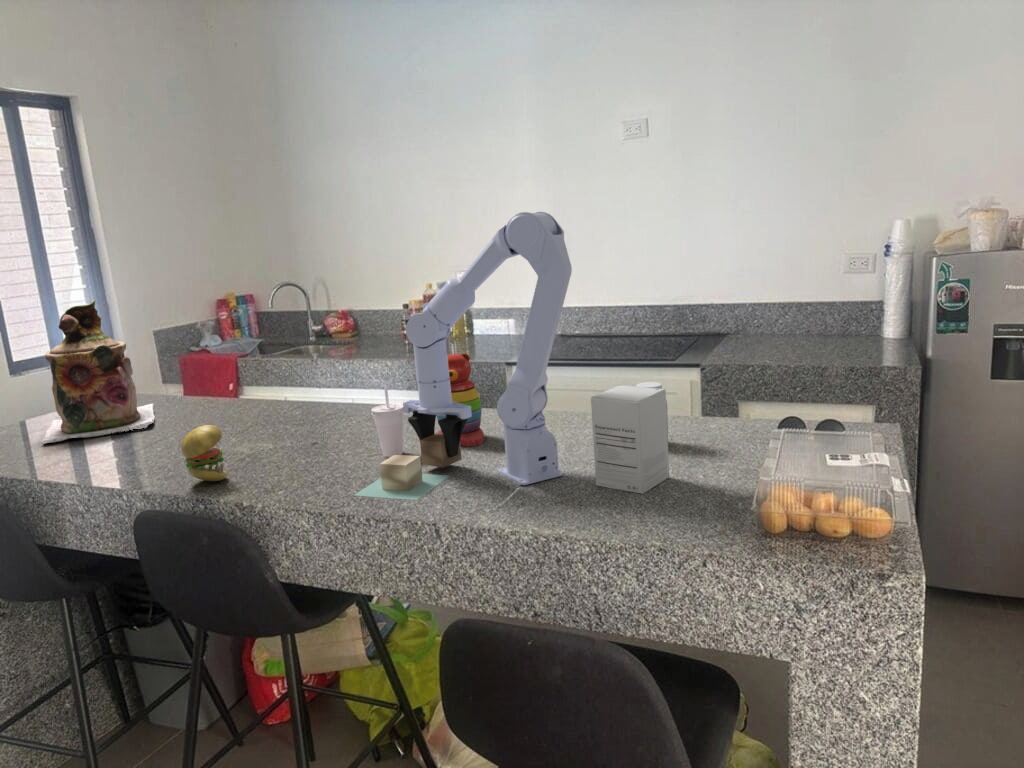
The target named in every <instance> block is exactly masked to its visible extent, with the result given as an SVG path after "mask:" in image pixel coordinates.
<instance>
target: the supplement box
mask: <svg viewBox="0 0 1024 768" xmlns="http://www.w3.org/2000/svg"><path fill="white" fill-rule="evenodd" d="M666 391H667V390H666V389H665V388H662V389H656V388H643V387H636V386H633V385H618V386H615V387H613V388H610V389H608V390H605V391H602V392H601V393H598V394H596V395H592V396H590V405H591V417H592V418H591V420H592V437H593V439H592V441H593V453H594V454H593V455H594V456H593V457H594V470H595V471H594V472H595V473H594V475H595V485H596V486H598V487H603V488H609V489H615V490H617V491H618V490H619V491H625V492H631V493H635V494H641V495H644V494H646V493H647V492H649V491H650V490H652V488H654V487H656V486H658V485H659V484H661V483H662V482H664V481H666V480H667V479H668V478H670V464H669V463H670V461H669V434H668V435H667V415H668V411H667V412H666V401H667V393H666Z"/></svg>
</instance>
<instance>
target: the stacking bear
mask: <svg viewBox="0 0 1024 768" xmlns="http://www.w3.org/2000/svg"><path fill="white" fill-rule="evenodd" d="M447 357H448V367H449V377H450V386H451V396H452V401H453V402H456V403H459V404H463V405H467V406H471V413H472V417H469V418H468V420H467V422H466V424H465V426H464V428H463V431H462V434H461V438H460V446H461V447H462V446H463V447H476V446H480V445H482V444H483V442H484V441H485V433H484V431H483V430H482V428H481V423H482V402H481V398H480V396H479V392H478V389H477V387H476V386H475V384H474V382H473V381H472V380H470V376H471V370H472V368H471V366H472V365H471V363H470V355H468V353H462V354H456V353H455V354H447ZM444 418H446V416H441V415H436V419H437V422H438V421H439V420H441V419H444ZM437 433H442V430H441V429H440V430H439V431H437V432H436V433H435V434H437Z"/></svg>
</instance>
